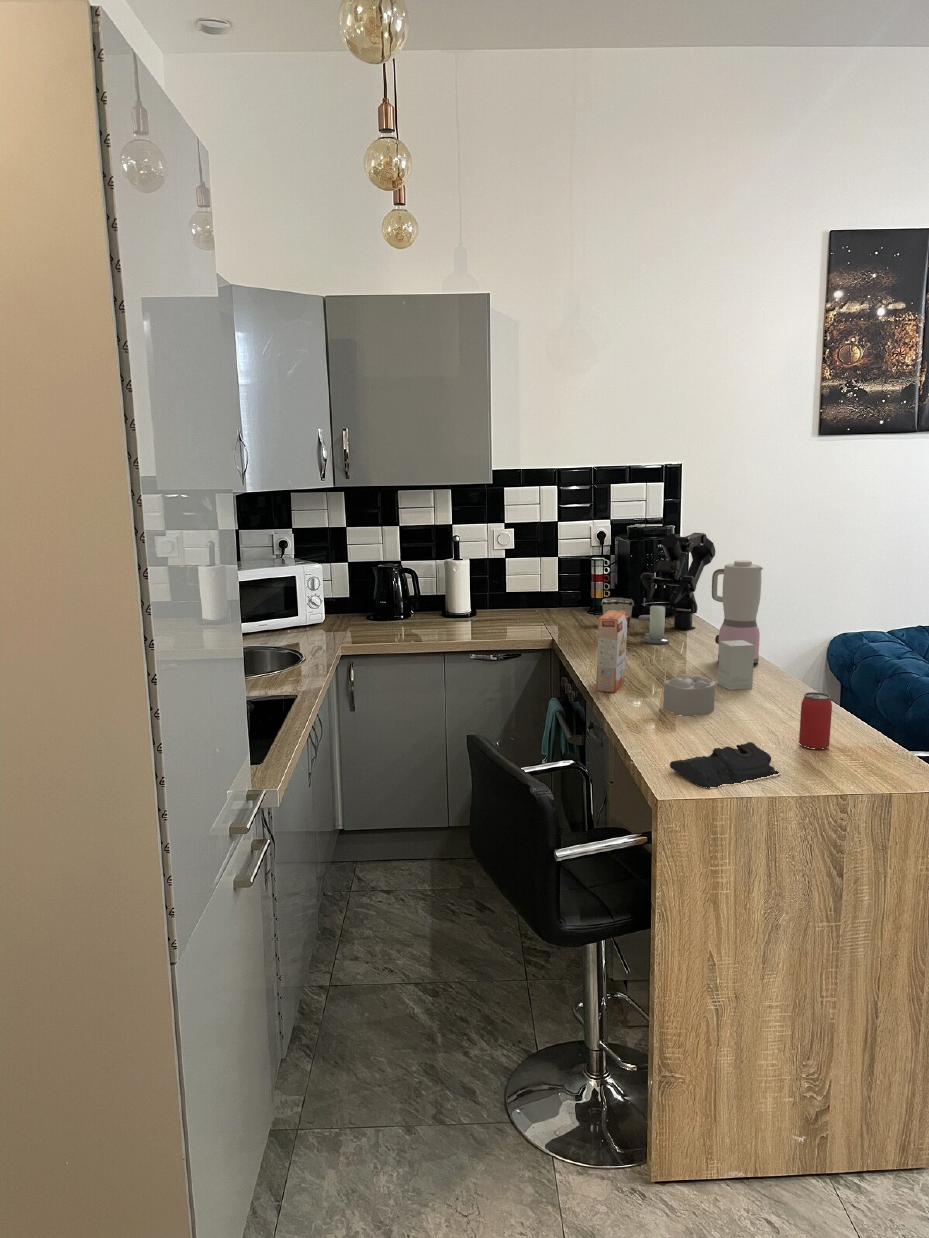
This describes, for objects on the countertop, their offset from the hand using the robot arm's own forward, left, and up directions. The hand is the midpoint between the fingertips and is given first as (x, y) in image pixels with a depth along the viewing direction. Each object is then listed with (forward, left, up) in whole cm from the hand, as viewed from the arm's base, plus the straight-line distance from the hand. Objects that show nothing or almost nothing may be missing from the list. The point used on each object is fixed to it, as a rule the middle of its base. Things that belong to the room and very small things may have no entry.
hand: (661, 601), depth 327 cm
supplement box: (+33, +54, -14) cm, 64 cm away
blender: (+9, +36, -14) cm, 40 cm away
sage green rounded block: (+3, +1, -12) cm, 13 cm away
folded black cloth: (+93, +93, -14) cm, 133 cm away
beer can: (+64, +97, -14) cm, 117 cm away
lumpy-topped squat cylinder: (+61, +60, -14) cm, 87 cm away
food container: (-8, -27, -14) cm, 32 cm away
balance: (-1, -4, -14) cm, 14 cm away
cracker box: (+60, +31, -14) cm, 69 cm away
